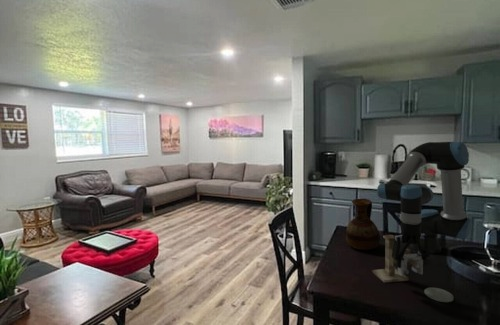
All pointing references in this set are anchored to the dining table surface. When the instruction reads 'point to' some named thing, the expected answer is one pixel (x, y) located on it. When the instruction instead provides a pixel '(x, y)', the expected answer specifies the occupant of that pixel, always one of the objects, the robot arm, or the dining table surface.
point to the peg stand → (391, 272)
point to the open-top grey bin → (409, 258)
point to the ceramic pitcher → (362, 227)
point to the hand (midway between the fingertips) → (410, 273)
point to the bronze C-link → (392, 260)
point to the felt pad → (439, 294)
